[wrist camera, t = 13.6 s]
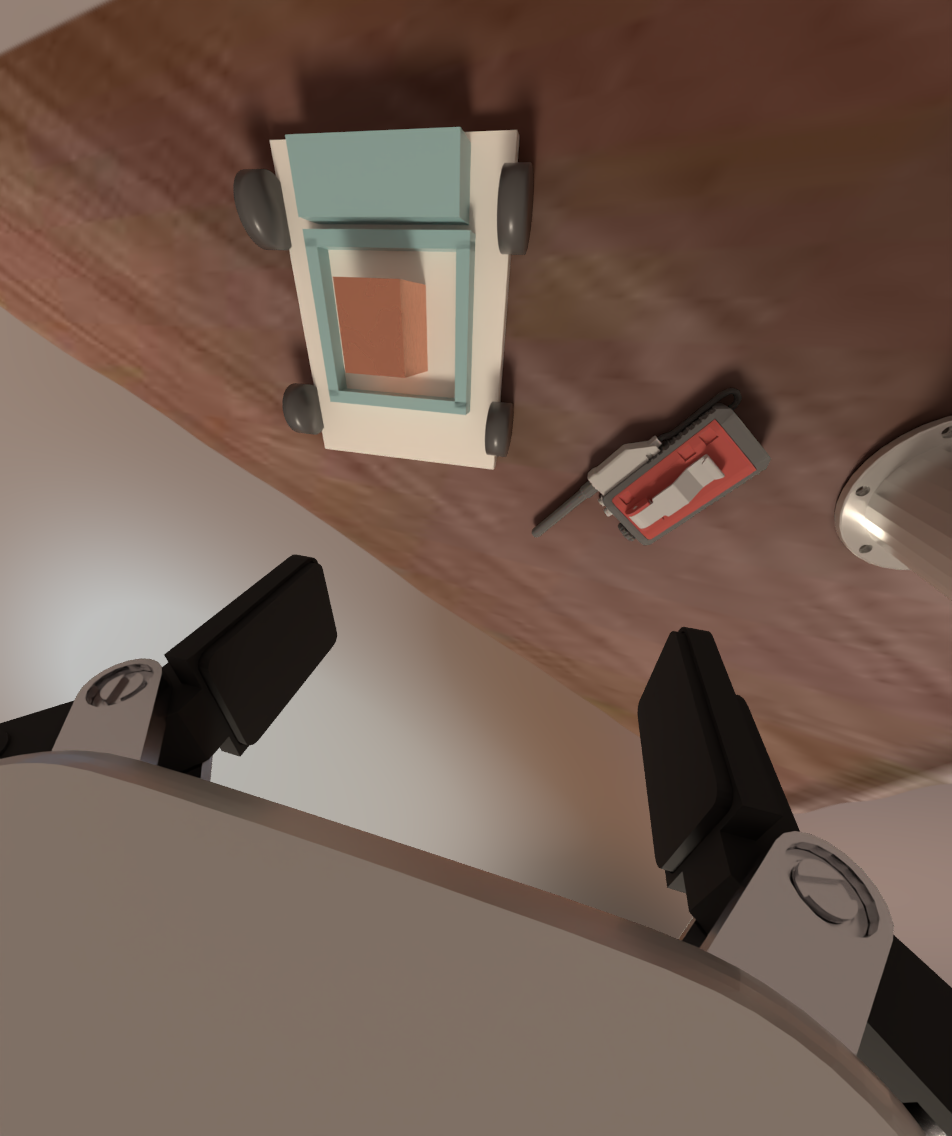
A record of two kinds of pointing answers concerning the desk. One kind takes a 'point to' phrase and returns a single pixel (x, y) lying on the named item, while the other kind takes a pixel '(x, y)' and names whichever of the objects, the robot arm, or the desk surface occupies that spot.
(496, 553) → the desk surface
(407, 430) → the chassis
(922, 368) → the desk surface
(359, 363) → the orange-brown block
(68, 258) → the desk surface
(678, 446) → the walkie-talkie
